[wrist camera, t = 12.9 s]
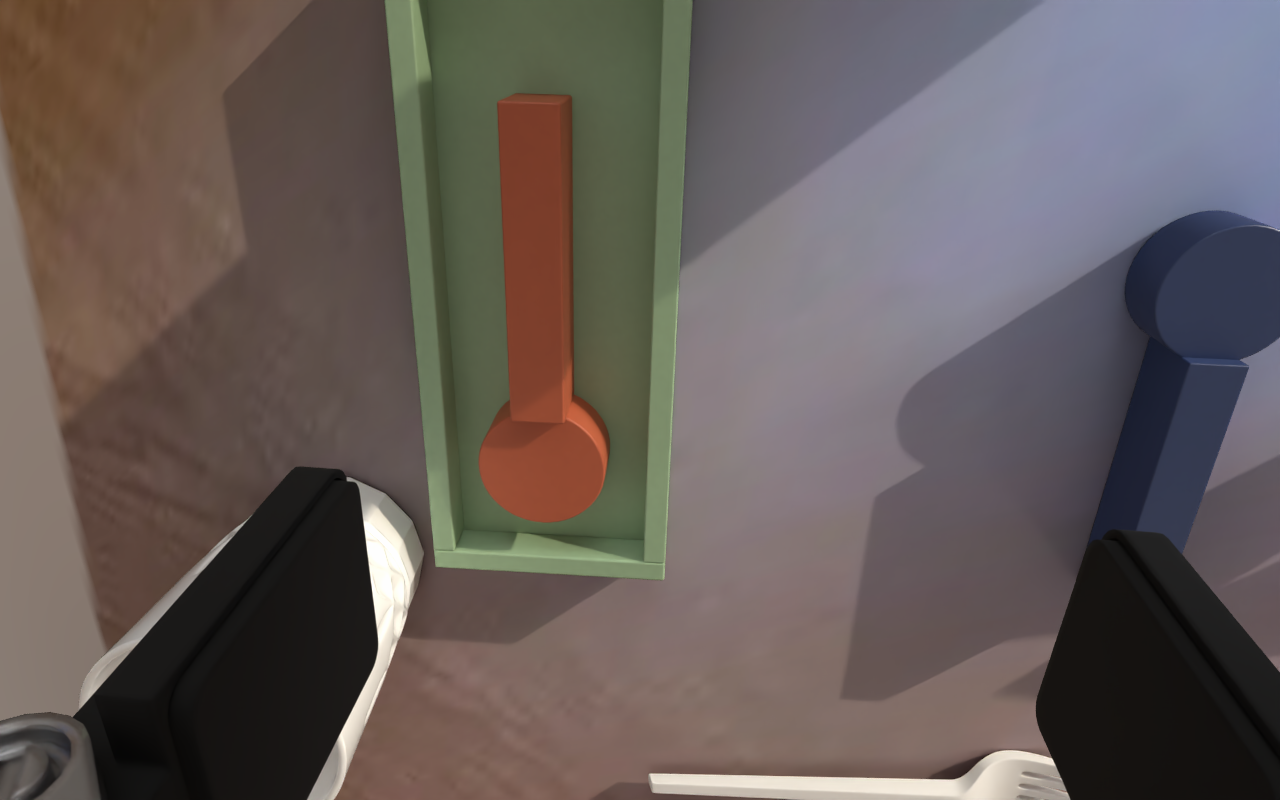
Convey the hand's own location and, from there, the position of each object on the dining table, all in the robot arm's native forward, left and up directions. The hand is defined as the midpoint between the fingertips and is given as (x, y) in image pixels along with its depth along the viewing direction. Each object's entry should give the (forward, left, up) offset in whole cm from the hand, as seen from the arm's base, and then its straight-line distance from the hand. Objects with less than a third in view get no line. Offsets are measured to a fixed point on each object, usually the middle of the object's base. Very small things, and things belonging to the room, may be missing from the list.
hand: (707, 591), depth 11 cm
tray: (+2, -5, -19) cm, 19 cm away
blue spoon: (+5, +16, -19) cm, 25 cm away
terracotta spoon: (+4, -5, -18) cm, 19 cm away
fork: (+24, +9, -19) cm, 31 cm away
